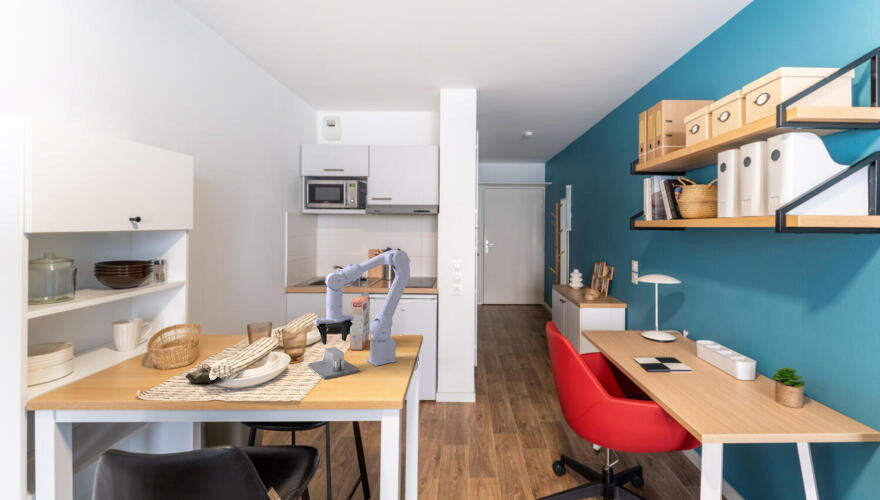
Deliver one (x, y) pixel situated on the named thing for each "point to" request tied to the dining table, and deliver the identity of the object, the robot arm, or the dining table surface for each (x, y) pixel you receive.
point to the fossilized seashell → (200, 374)
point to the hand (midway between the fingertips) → (334, 342)
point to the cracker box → (359, 323)
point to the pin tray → (328, 373)
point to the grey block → (333, 357)
